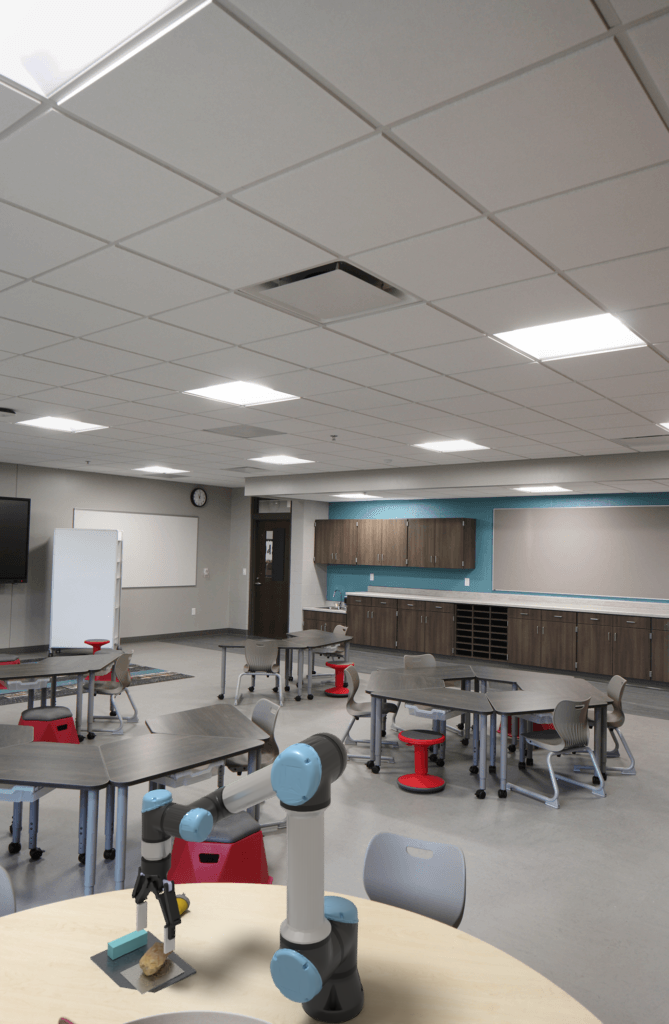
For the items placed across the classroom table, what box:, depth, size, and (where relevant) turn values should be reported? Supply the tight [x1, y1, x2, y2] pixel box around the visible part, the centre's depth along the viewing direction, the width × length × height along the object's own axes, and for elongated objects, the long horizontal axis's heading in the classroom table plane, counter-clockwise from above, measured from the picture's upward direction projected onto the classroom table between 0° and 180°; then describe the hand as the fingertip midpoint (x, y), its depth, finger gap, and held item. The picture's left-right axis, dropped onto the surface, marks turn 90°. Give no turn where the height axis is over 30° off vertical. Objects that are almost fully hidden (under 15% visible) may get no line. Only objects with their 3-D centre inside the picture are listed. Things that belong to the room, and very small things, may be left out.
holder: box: [90, 930, 197, 995], centre depth 169 cm, size 24×17×1 cm
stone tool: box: [139, 942, 175, 976], centre depth 168 cm, size 9×7×10 cm
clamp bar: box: [107, 929, 148, 960], centre depth 175 cm, size 3×10×3 cm, turn 135°
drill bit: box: [176, 892, 191, 916], centre depth 194 cm, size 5×5×10 cm
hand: (155, 939), depth 166 cm, fingers open, 13 cm apart
